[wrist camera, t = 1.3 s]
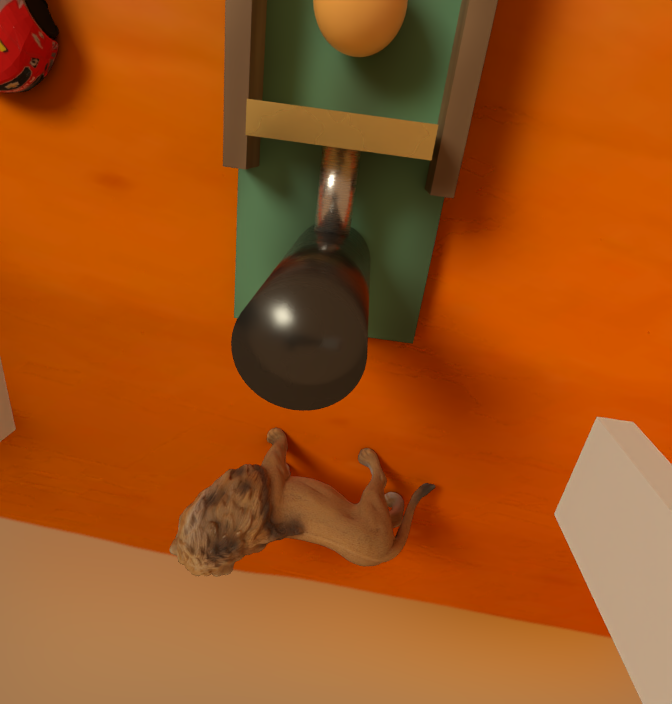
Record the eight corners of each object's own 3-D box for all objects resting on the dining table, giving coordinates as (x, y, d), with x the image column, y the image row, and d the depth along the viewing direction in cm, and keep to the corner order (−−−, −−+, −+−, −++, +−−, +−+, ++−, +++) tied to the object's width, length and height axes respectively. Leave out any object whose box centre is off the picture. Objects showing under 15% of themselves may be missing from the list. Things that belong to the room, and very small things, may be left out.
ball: (314, 57, 20) (302, 42, 17) (323, -48, 18) (312, -88, 15) (396, 68, 20) (400, 55, 17) (412, -36, 18) (420, -74, 15)
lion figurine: (217, 480, 32) (162, 597, 24) (216, 416, 30) (155, 521, 21) (427, 508, 31) (445, 637, 23) (442, 445, 29) (468, 564, 21)
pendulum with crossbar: (261, 288, 24) (182, 393, 14) (271, 106, 21) (174, 75, 11) (392, 307, 24) (404, 426, 14) (426, 127, 20) (474, 116, 10)
